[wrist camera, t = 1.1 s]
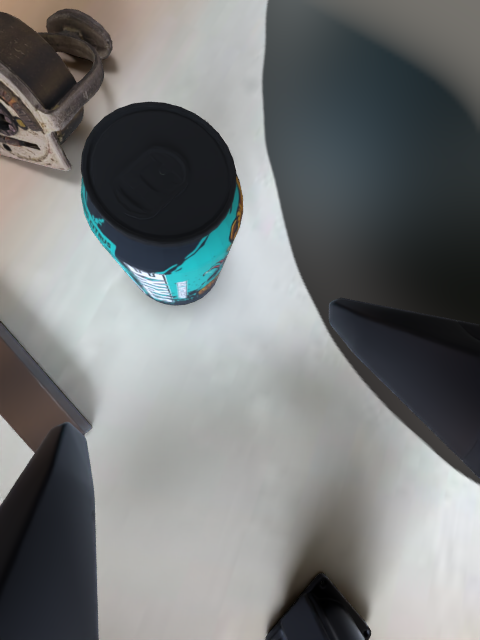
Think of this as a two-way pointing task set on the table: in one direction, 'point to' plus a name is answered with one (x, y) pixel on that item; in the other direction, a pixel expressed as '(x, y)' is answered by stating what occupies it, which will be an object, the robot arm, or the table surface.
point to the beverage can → (162, 198)
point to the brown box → (31, 395)
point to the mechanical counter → (46, 84)
